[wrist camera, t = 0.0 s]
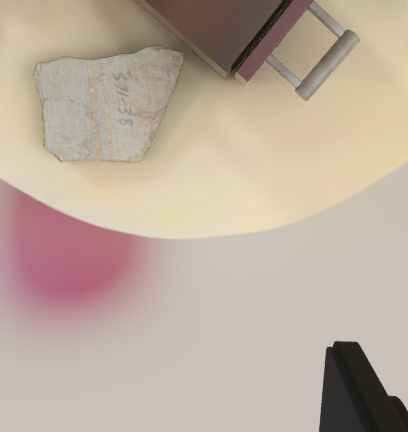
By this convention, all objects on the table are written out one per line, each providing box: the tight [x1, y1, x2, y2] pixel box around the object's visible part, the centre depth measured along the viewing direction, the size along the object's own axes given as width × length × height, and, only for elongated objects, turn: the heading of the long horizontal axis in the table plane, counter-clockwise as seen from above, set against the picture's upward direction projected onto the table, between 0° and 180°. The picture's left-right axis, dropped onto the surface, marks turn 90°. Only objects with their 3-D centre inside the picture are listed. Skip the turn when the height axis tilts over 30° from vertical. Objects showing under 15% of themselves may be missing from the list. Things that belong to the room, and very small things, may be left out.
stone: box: [33, 45, 184, 162], centre depth 38 cm, size 15×11×3 cm
